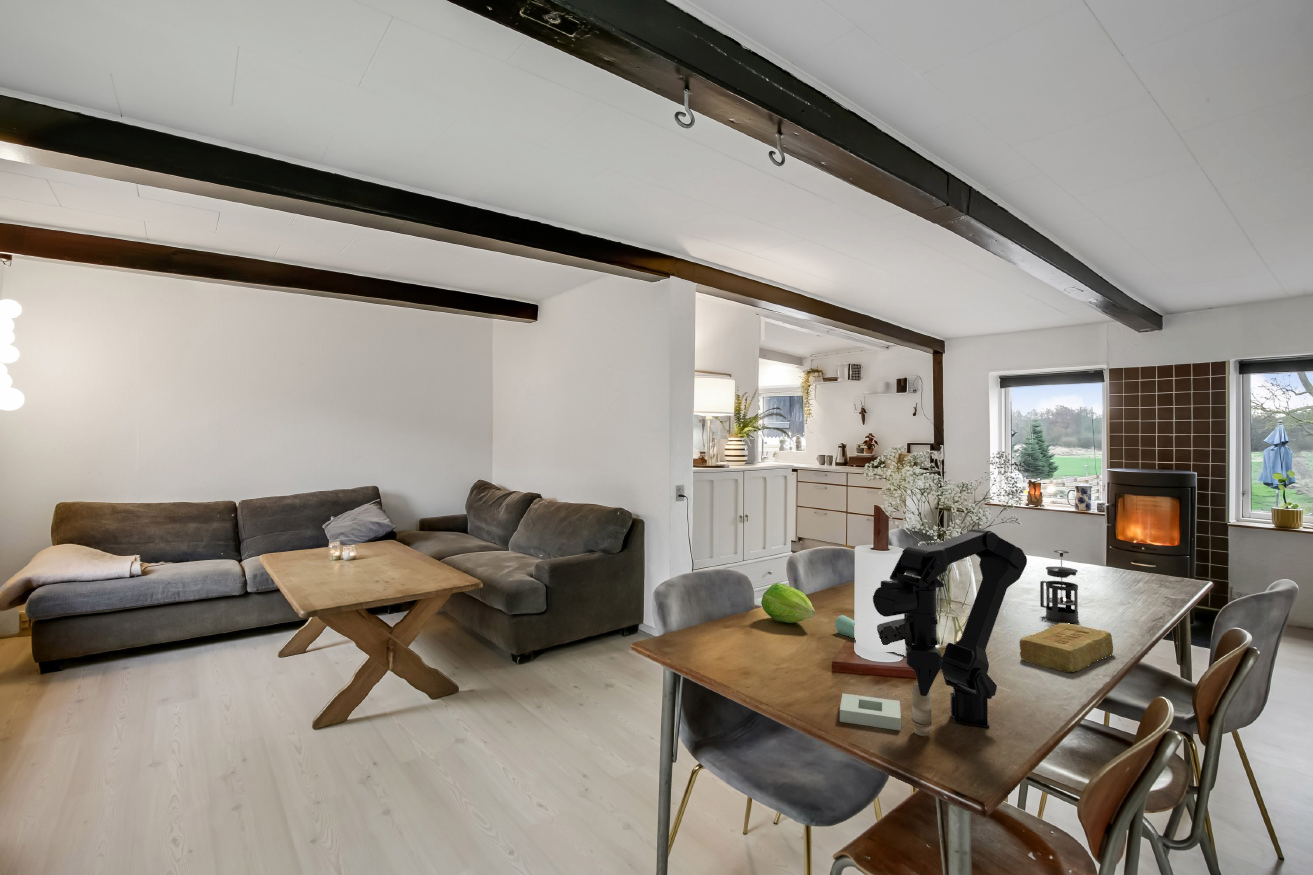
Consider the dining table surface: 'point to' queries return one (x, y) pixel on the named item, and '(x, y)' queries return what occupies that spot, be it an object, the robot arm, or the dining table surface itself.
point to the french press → (1055, 611)
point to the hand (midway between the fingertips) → (922, 686)
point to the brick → (1066, 647)
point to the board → (870, 711)
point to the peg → (921, 711)
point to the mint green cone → (845, 626)
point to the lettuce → (786, 604)
